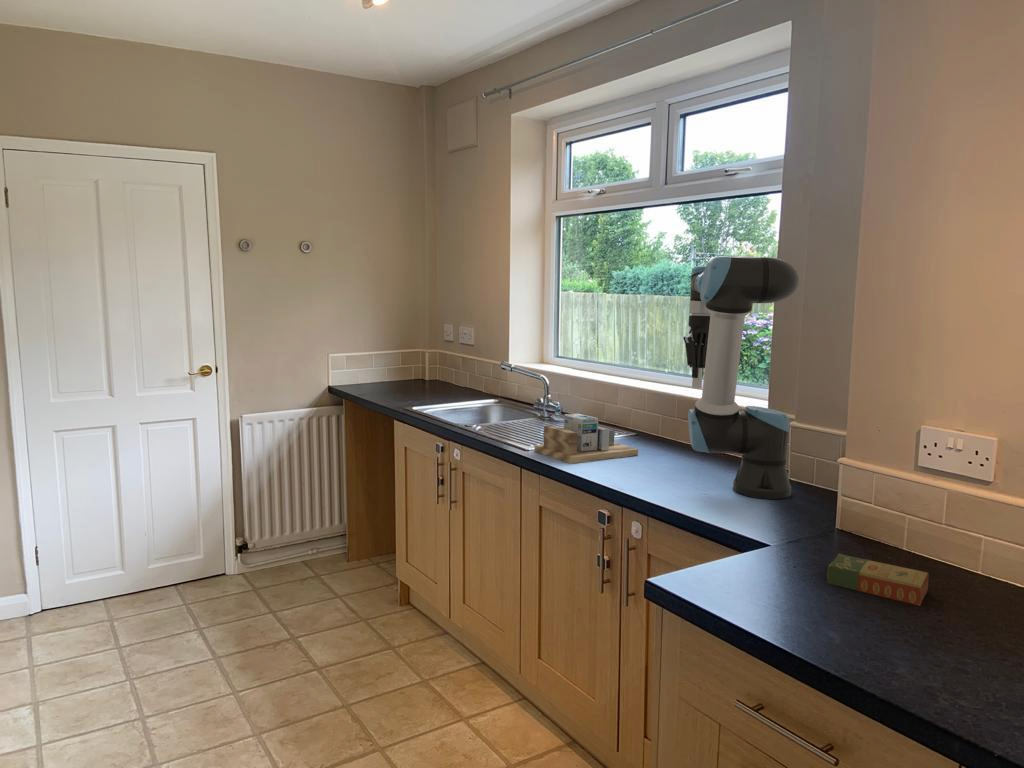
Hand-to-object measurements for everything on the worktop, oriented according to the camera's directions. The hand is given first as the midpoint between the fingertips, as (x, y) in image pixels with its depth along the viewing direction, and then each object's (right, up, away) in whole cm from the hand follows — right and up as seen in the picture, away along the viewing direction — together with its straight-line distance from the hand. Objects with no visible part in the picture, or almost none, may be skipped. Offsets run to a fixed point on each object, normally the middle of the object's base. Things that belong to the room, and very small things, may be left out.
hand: (696, 387), depth 242 cm
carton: (+9, -38, -101) cm, 108 cm away
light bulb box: (-38, -20, +5) cm, 43 cm away
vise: (-35, -22, +6) cm, 42 cm away
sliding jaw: (-30, -19, +9) cm, 37 cm away
